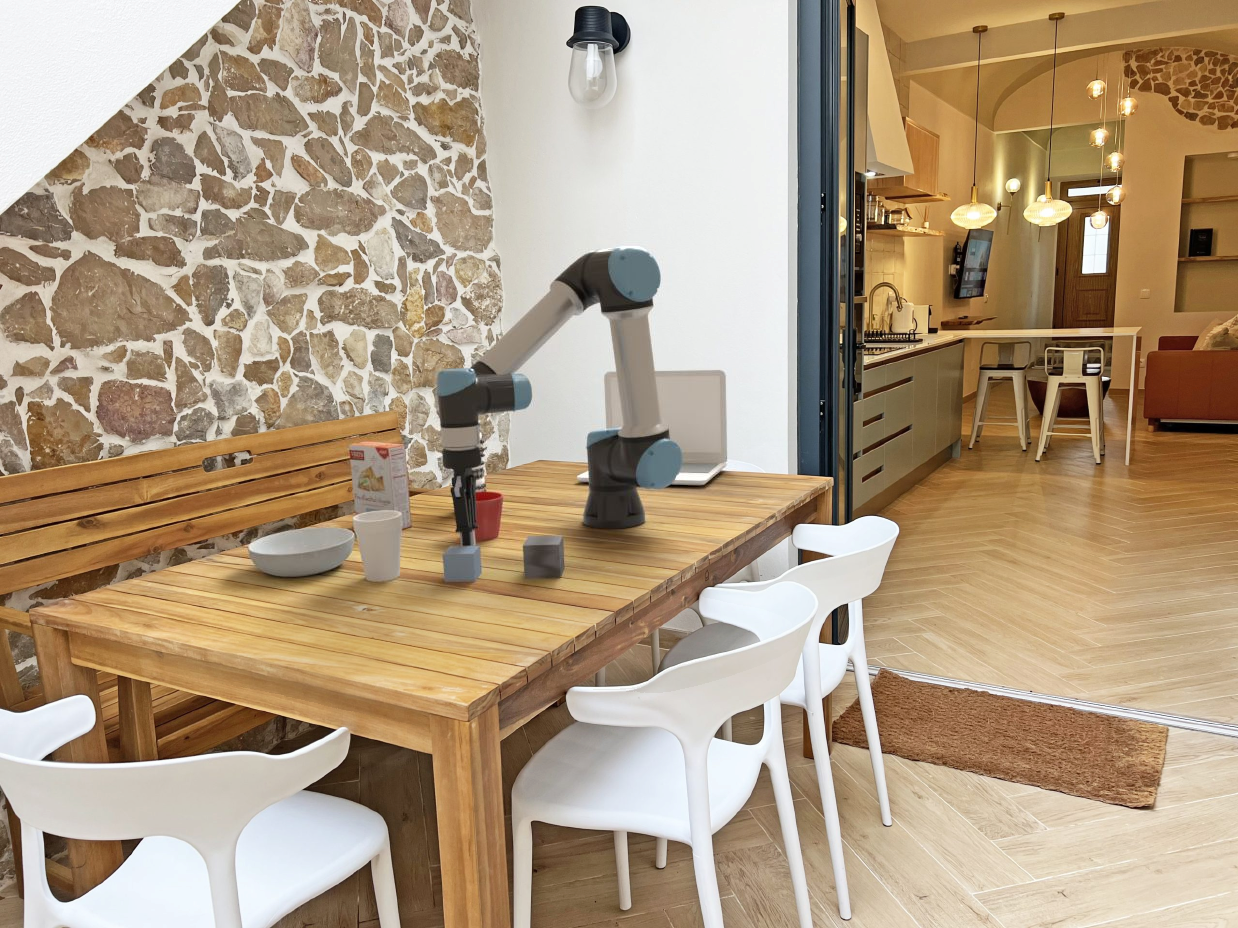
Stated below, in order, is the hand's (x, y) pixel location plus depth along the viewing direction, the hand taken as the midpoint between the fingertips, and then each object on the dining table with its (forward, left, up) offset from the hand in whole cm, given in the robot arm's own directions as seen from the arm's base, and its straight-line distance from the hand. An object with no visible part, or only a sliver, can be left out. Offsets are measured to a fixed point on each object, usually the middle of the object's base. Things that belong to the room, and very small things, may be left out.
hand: (469, 561), depth 186 cm
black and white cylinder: (+12, -55, -2) cm, 56 cm away
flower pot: (+3, -27, -2) cm, 27 cm away
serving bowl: (+35, -2, -2) cm, 35 cm away
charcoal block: (-16, +4, -2) cm, 16 cm away
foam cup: (+16, +5, -2) cm, 17 cm away
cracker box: (+30, -39, -2) cm, 50 cm away
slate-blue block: (0, +6, -2) cm, 6 cm away
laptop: (-35, -100, -2) cm, 106 cm away
